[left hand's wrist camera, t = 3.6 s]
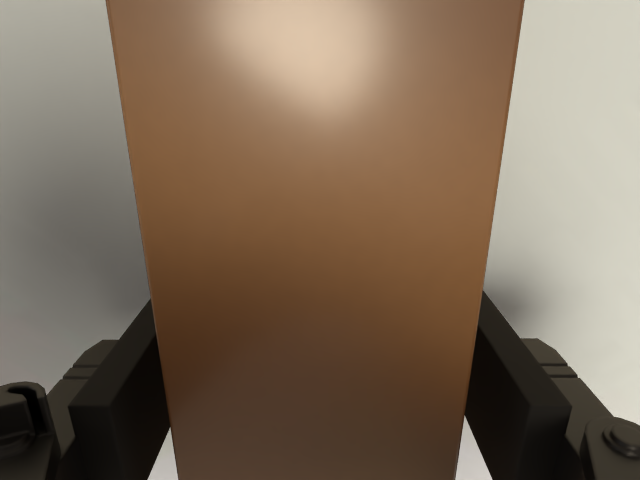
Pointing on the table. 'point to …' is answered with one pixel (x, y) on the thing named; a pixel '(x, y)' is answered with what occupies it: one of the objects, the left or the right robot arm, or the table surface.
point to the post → (315, 223)
